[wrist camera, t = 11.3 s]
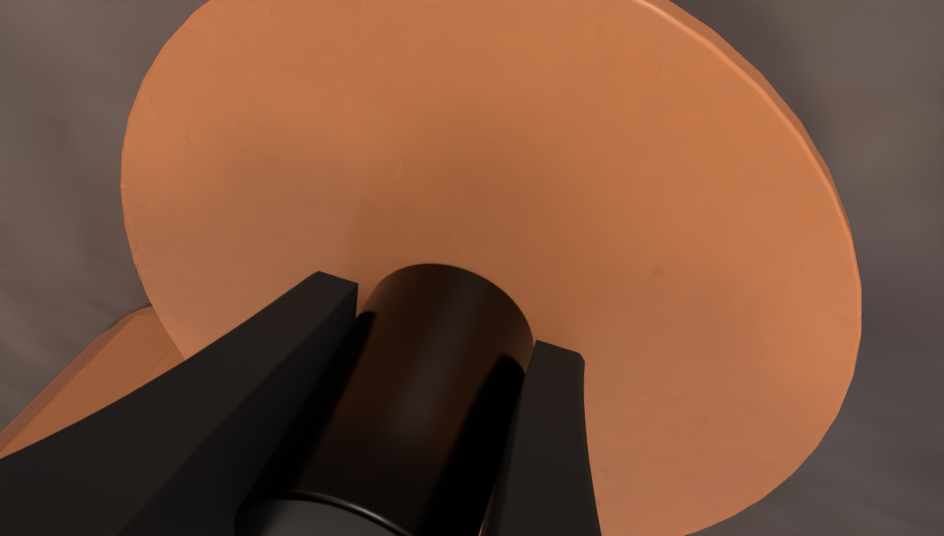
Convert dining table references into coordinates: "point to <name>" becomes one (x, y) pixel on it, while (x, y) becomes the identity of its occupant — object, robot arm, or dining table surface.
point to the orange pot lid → (499, 248)
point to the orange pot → (96, 378)
